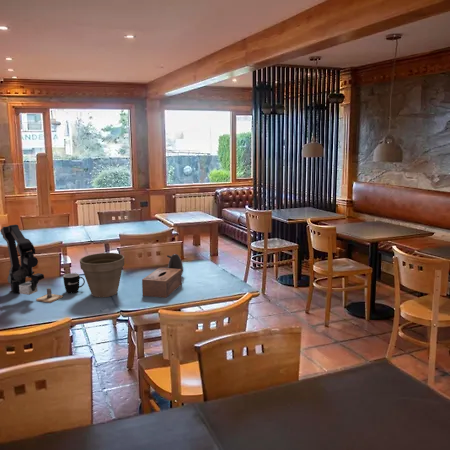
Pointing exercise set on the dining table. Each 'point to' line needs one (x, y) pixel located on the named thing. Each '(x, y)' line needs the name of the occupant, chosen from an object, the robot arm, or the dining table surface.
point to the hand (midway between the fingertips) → (28, 290)
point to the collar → (26, 288)
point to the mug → (72, 282)
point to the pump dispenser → (175, 262)
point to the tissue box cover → (161, 282)
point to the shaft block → (49, 297)
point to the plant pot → (103, 273)
